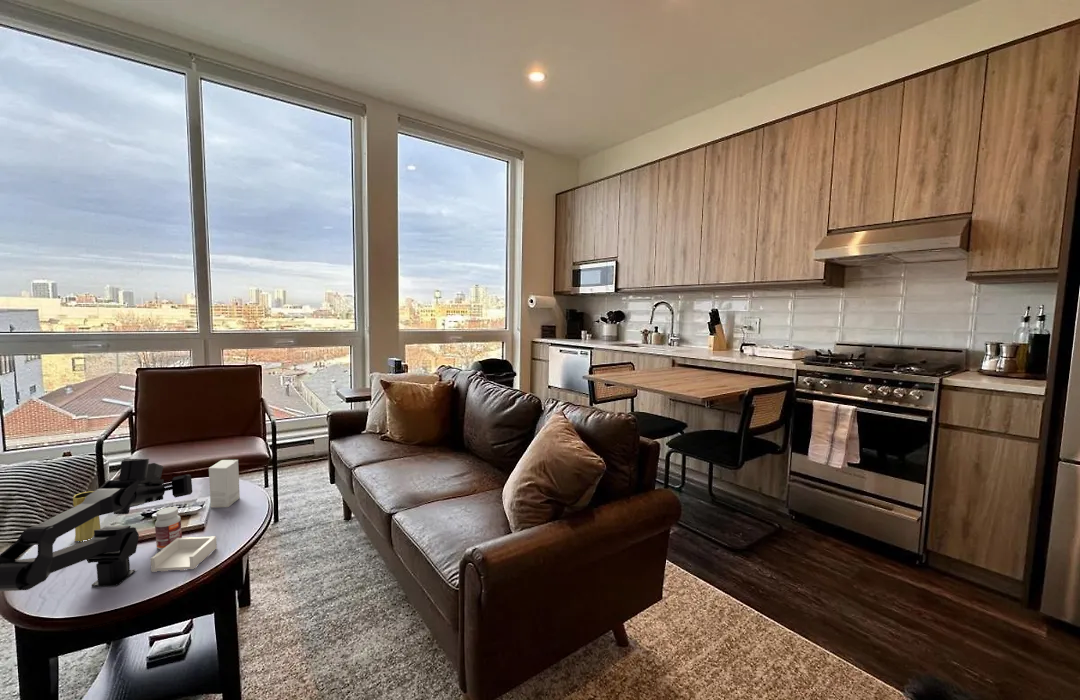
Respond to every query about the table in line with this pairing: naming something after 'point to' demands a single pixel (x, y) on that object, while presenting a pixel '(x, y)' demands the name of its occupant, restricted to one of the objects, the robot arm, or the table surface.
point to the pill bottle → (167, 526)
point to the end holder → (183, 553)
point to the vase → (87, 528)
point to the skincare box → (224, 483)
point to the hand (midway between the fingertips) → (176, 487)
